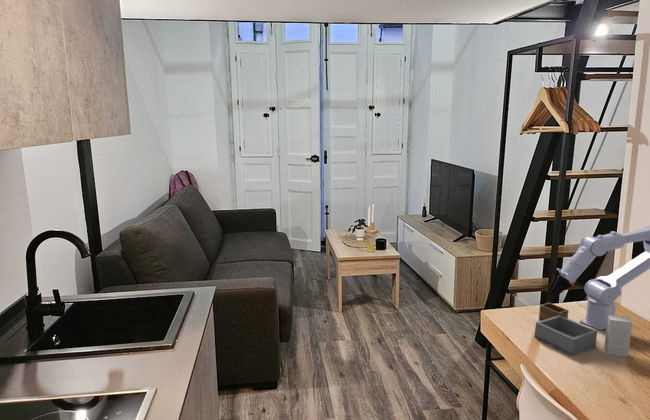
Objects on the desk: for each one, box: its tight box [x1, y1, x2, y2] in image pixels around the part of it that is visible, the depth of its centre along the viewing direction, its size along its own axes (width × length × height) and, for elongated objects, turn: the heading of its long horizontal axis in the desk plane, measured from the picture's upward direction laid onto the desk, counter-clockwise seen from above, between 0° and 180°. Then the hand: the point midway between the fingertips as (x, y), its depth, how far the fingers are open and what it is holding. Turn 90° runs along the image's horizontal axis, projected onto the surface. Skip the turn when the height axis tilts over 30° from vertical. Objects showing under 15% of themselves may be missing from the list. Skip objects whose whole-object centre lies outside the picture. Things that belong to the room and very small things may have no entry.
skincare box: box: [603, 315, 633, 358], centre depth 150 cm, size 6×4×12 cm
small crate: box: [538, 302, 569, 321], centre depth 173 cm, size 5×8×6 cm, turn 27°
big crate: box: [534, 315, 598, 356], centre depth 158 cm, size 12×14×6 cm
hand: (550, 295), depth 167 cm, fingers open, 7 cm apart
